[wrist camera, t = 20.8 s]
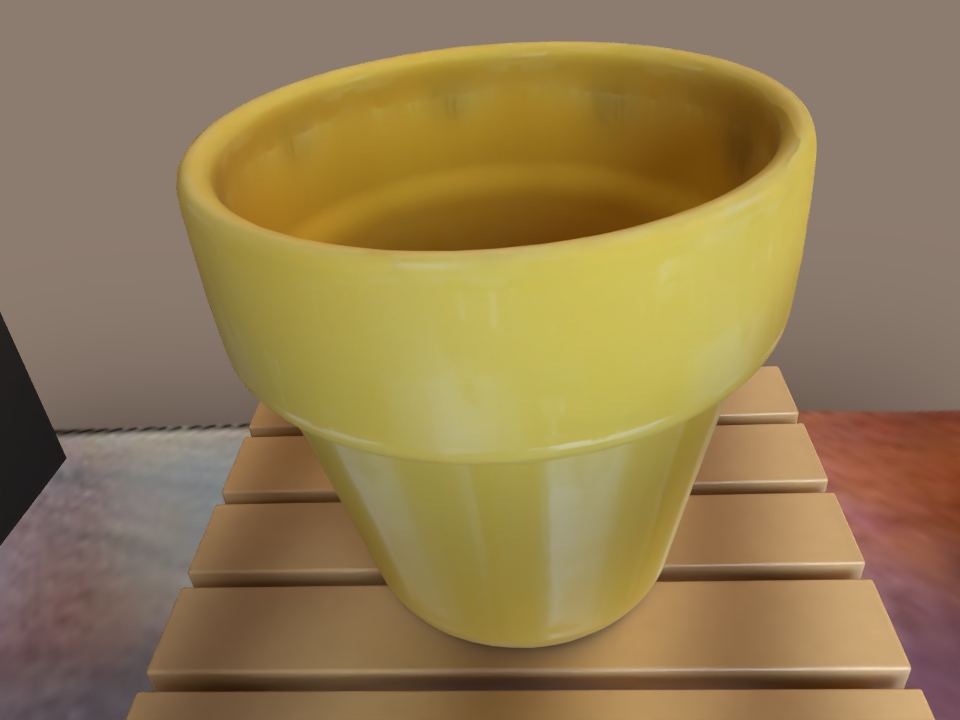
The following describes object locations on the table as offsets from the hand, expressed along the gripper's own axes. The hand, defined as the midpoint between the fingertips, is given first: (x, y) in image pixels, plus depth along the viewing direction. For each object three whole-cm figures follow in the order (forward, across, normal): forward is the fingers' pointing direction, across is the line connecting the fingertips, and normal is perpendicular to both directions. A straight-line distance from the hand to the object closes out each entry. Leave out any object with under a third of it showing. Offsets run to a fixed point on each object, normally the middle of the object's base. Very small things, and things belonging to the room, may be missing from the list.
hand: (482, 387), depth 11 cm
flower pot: (+5, 0, -8) cm, 9 cm away
